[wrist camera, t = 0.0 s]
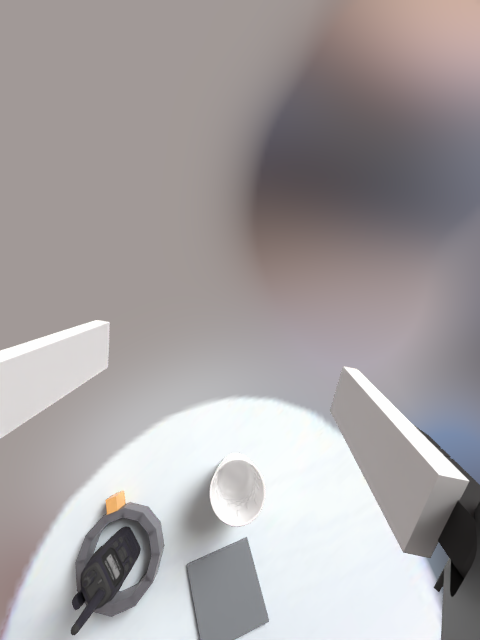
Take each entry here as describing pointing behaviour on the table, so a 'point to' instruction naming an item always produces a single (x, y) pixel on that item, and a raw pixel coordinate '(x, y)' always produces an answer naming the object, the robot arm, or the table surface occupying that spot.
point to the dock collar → (153, 528)
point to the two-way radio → (105, 574)
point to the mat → (227, 593)
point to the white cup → (237, 490)
